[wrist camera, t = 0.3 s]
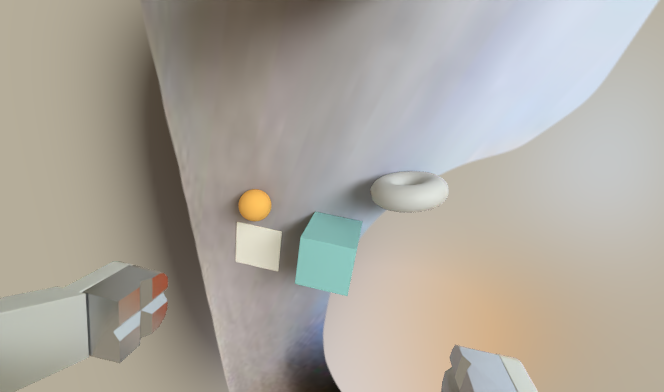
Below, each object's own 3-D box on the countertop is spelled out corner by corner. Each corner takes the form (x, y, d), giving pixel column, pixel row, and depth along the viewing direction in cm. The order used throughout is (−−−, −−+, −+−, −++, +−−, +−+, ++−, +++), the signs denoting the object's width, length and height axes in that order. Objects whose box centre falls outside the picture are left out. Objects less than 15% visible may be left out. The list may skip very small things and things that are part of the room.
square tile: (237, 221, 54) (236, 222, 54) (282, 231, 53) (281, 231, 53) (236, 261, 57) (235, 261, 57) (278, 270, 56) (278, 271, 56)
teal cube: (315, 211, 51) (300, 237, 43) (362, 221, 50) (356, 249, 42) (309, 252, 54) (294, 283, 45) (354, 262, 53) (347, 296, 45)
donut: (442, 165, 45) (455, 188, 35) (442, 188, 46) (455, 216, 37) (371, 169, 47) (366, 192, 37) (373, 191, 48) (368, 219, 39)
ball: (247, 182, 51) (233, 192, 46) (277, 188, 50) (265, 199, 46) (246, 210, 53) (232, 222, 48) (274, 216, 52) (263, 229, 48)
